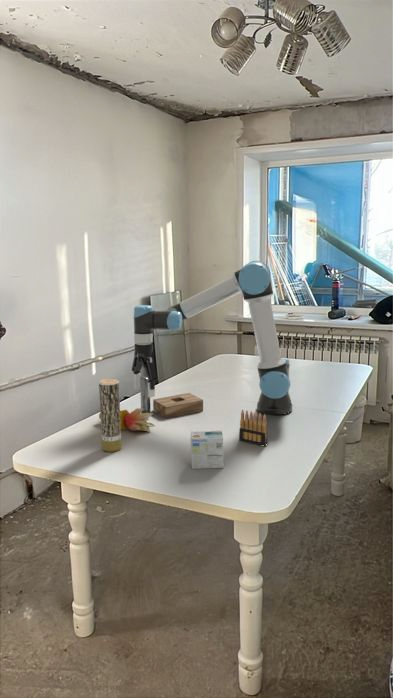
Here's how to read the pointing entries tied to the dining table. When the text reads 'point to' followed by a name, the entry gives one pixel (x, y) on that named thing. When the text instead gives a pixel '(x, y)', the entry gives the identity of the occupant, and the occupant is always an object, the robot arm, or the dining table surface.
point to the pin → (144, 395)
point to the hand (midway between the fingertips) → (144, 392)
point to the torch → (134, 420)
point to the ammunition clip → (253, 429)
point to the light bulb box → (207, 449)
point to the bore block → (177, 405)
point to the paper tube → (110, 414)
